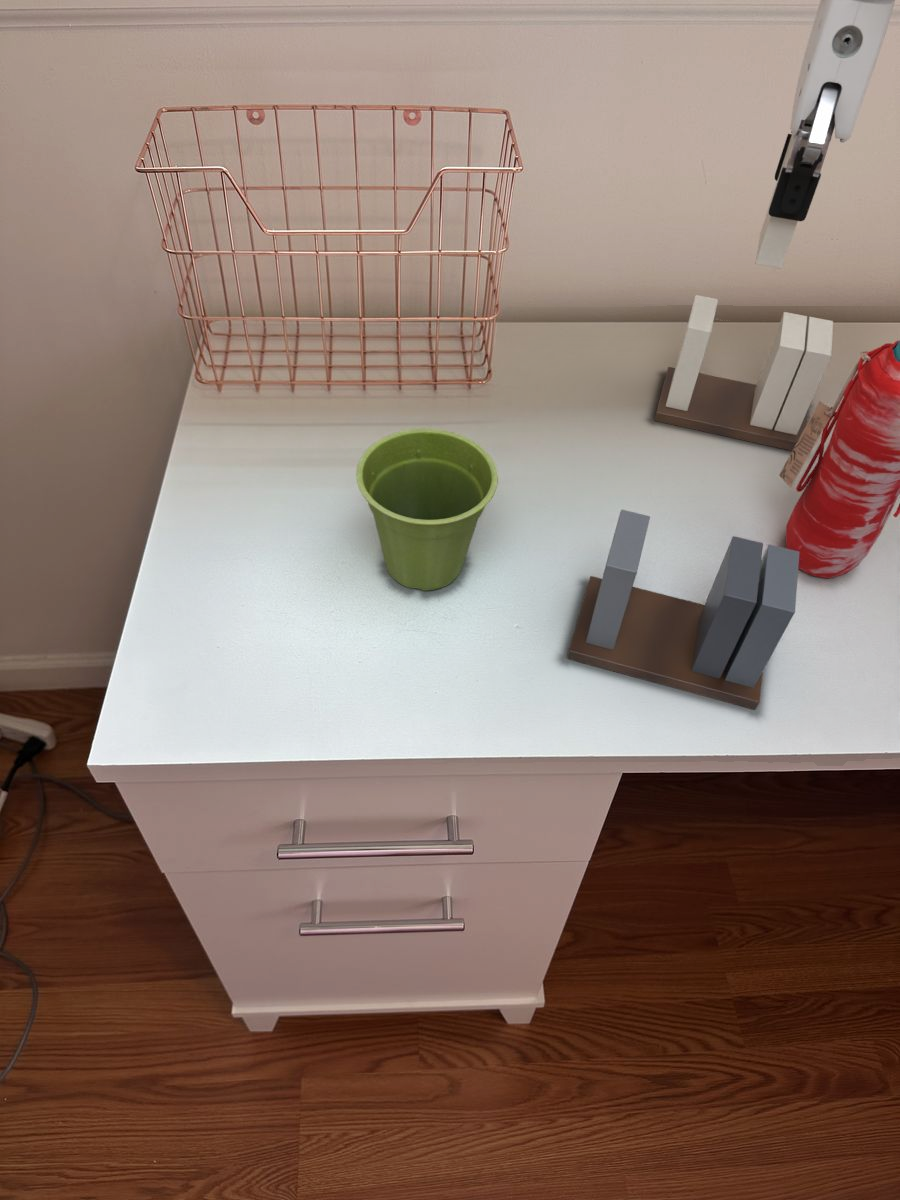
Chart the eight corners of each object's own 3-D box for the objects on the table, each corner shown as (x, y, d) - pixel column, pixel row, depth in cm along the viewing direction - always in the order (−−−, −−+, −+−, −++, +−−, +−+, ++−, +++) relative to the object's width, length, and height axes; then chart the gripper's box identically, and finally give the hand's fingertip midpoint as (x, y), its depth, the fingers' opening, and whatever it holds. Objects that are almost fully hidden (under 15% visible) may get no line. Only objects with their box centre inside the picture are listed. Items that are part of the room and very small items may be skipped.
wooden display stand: (805, 404, 98) (843, 316, 89) (801, 453, 92) (841, 364, 83) (666, 374, 100) (689, 287, 92) (654, 420, 95) (677, 331, 86)
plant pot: (447, 632, 75) (451, 544, 66) (336, 577, 79) (327, 486, 70) (511, 549, 82) (523, 459, 73) (407, 502, 85) (406, 410, 77)
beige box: (785, 236, 84) (822, 128, 76) (780, 269, 80) (819, 158, 72) (760, 232, 84) (795, 124, 77) (754, 264, 80) (790, 153, 73)
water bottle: (730, 525, 85) (823, 295, 65) (786, 496, 88) (891, 267, 68) (825, 606, 78) (959, 377, 59) (881, 571, 81) (1026, 343, 62)
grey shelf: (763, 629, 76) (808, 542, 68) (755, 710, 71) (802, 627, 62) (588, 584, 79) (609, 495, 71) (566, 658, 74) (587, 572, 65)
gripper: (924, 3, 59) (827, 252, 72) (917, -61, 69) (833, 166, 83) (812, -11, 60) (737, 236, 74) (821, -72, 70) (754, 154, 84)
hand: (789, 197), depth 78 cm, fingers closed on beige box, 6 cm apart
